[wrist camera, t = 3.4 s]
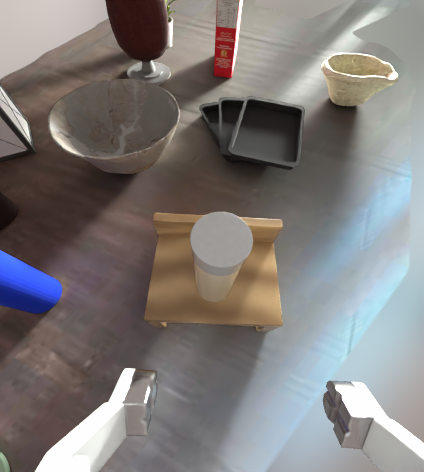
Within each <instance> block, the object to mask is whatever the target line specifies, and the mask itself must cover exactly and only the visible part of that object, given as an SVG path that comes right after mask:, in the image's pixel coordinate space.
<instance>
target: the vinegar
mask: <svg viewBox="0 0 424 472" xmlns="http://www.w3.org/2000/svg"><path fill="white" fill-rule="evenodd" d="M16 215H17V207H16V205H15V204H14V203H13V202H12V201H11V200H10V199H8V198H7V197H6V196H5V195H3V194H2V193H1V192H0V229H2V228H4V227H6V226H7V225H9V224H10V223H11V222H12V221H13V220H14V218H15V216H16Z"/></svg>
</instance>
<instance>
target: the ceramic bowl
mask: <svg viewBox="0 0 424 472" xmlns="http://www.w3.org/2000/svg"><path fill="white" fill-rule="evenodd" d="M179 117H180V111H179V107H178V104H177V102H176V100H175V98H174V97H173V95H172V94H171V93H169V92H168V91H167V90H165V89H164V88H162V87H160V86H157V85H155V84H152V83H149V82H147V81H142V80H137V79H122V80H121V79H112V80H110V81H109V80H105V81H99V82H94V83H91V84H88V85H85V86H82V87H79V88H76V89H74V90H73V91H72V92H70V93H68V94H67V95H65V96H63V97H62V98H60V99H59V100H58V101H57V102H56V103H55V105H54V106H53V107H52V108H51V110H50V112H49V115H48V129H49V132H50V135H51V137H52V139H53V140H54V142H55V143H56V144H57V145H58V146H59V147H61V149H62V150H64V151H65V152H66V153H68V154H71V155H73V156H75V157H78V158H81V159H84V160H86V161H87V162H89V163H91V164H92V165H94V166H96V167H98V168H99V169H101V170H102V171H105V172H110V173H123V174H133V173H137V172H140V171H144V170H145V169H147V168H150V167H151V166H152V165H153V164H154V163H155V162H156V161H157V160H158V159H159V158H160V156H161V155H162V154H163V152H164V151H165V149H166V148H167V146H168V145H169V143H170V141H171V139H172V137H173V135H174V133H175V131H176V128H177V125H178V121H179Z"/></svg>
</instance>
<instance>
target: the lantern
mask: <svg viewBox="0 0 424 472" xmlns="http://www.w3.org/2000/svg"><path fill="white" fill-rule="evenodd" d="M33 153H36V150H35V148H34V144H33V139H32V134H31V130H30V123H29V121H28V120H27V118H26V117H25V116H24V114H23V113H22V112H21V110H20V109H19V108H18V106H17V105H16V103H15V102H14V101H13V99H12V98H11V97H10V95H9V94H8V93H7V91H6V90H5V89H4V87H3V86H2V84H1V83H0V162H1V161H4V160H8V159H12V158H16V157H20V156H23V155H27V154H33Z"/></svg>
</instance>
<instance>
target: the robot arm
mask: <svg viewBox="0 0 424 472" xmlns="http://www.w3.org/2000/svg"><path fill="white" fill-rule="evenodd" d="M156 380H157V371H153V370H142V369H128V368H125V369H124V370H123V372H122V374H121V376H120V378H119V380H118V383H117V385H116V387H115V389H114V391H113V393H112V395H111V397H110V400H109V402H108V403H104V404H103V405H101V406H100V407H99V408H98V409H97V410H96V411H94V412H93V413H92V414H91V415H90V416H89V417H87V418H86V419H85V420H84V421H83V422H81V423H80V424H79V425H78V426H77V427H76V428H74V429H73V430H72V431H71V432H70V433H69V434H67V435H66V436H65V437H64V438H63V439H62V440H60V441H59V442H58V443H57V444H56V445H55V446H53V447H52V448H51V449H50V450H49V451H48V452H47V453H46V454H45V456H44V458H43V459H42V461H41V462H40V464H39V466H38V467H37V469H36V471H35V472H99V471H100V469H101V468H102V467H103V466H104V464H105V463H106V462H107V461H108V459H109V458H110V457H111V456H112V455H113V453H114V452H115V451H116V450H117V448H118V447H119V446H120V445H121V443H122V442H123V441H124V440H125V438H126V436H147V433H148V429H149V425H150V422H151V411H152V410H153V409H154V406H155V402H156V397H157V383H156ZM326 387H327V389H328V391H327V392H326V393H325V394H324V397H323V405H324V409H325V413H326V415H327V417H328V419H329V420H330V421H331V422H332V423H333V424H334V428H333V430H334V432H335V434H336V437H337V439H338V441H339V443H340V445H341V447H342V448H353V449H362V451H363V452H364V454H365V455H366V456H367V457H368V458H369V459H370V460H371V461H372V462H373V463H374V465H376V467H377V468H378V469H379V470H380V471H381V472H424V443H422V442H421V441H420V440H419V439H417V438H416V437H415V436H413V435H412V434H411V433H410V432H408V431H407V430H406V429H404V428H403V427H402V426H400V425H399V424H398V423H397V422H395V421H394V420H392V419H389V418H388V417H387V416H386V414H385V413H384V411H383V410H382V408H381V407H380V406H379V404H378V403H377V401H376V400H375V399H374V397H373V396H372V395H371V393H370V392H369V390H368V389H367V388H366V386H365V385H364V384H363V383H362V382H361V383H360V382H347V381H328V382H327V385H326Z"/></svg>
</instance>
